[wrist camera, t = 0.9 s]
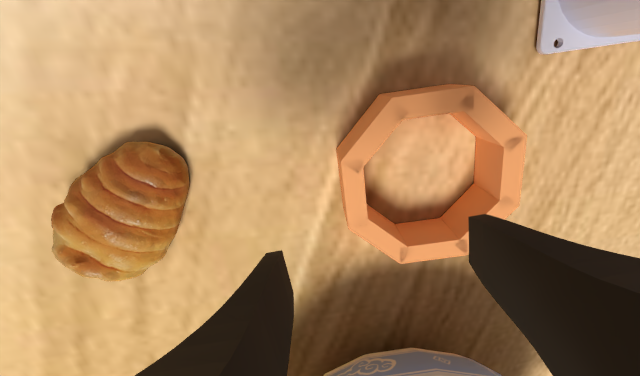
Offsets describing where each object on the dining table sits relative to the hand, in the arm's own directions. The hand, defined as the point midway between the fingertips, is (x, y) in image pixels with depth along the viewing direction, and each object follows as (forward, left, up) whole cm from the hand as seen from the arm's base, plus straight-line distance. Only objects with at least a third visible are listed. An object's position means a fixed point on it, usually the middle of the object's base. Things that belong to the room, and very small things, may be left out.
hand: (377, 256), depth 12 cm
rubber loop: (-5, 0, -9) cm, 10 cm away
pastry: (+15, 0, -10) cm, 18 cm away
